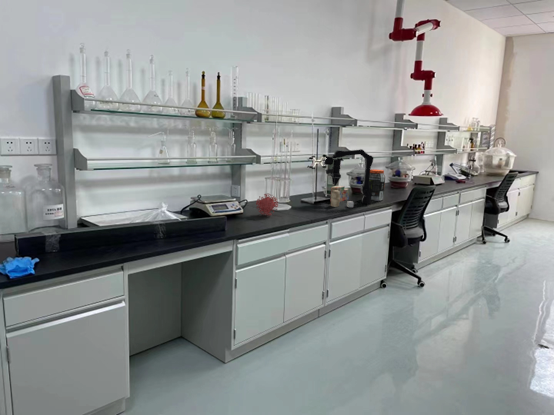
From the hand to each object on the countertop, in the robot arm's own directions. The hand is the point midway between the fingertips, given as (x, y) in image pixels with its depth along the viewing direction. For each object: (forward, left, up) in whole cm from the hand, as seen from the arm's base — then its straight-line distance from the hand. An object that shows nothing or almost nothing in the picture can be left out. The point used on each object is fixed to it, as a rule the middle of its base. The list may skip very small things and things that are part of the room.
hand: (334, 184), depth 339 cm
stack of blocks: (-7, -11, -15) cm, 20 cm away
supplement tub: (-39, -25, -15) cm, 49 cm away
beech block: (0, +17, -14) cm, 22 cm away
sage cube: (-2, +5, -15) cm, 15 cm away
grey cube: (-12, +16, -15) cm, 24 cm away
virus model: (+51, +64, -15) cm, 83 cm away
